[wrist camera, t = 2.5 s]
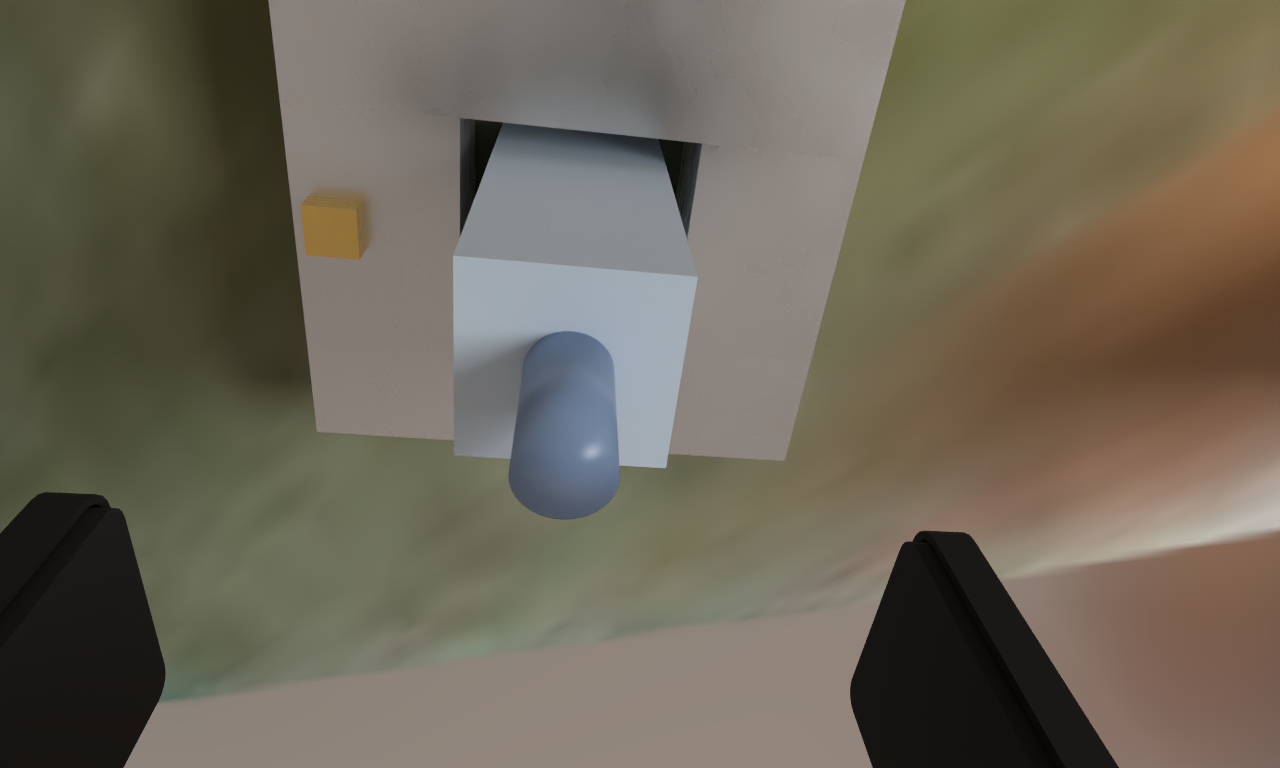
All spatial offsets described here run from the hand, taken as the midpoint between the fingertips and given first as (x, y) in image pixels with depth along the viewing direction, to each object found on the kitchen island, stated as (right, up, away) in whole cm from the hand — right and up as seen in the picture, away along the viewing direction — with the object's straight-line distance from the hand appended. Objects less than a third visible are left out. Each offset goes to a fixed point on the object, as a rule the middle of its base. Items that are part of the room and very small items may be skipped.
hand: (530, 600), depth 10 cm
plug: (0, +8, +12) cm, 14 cm away
